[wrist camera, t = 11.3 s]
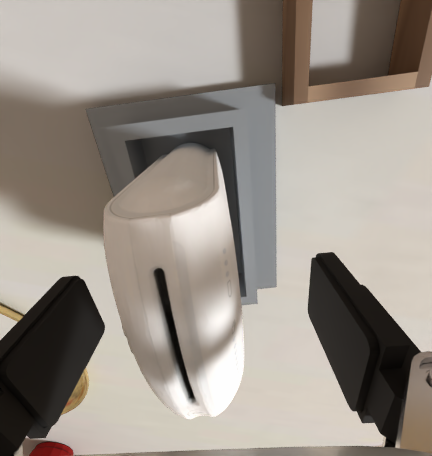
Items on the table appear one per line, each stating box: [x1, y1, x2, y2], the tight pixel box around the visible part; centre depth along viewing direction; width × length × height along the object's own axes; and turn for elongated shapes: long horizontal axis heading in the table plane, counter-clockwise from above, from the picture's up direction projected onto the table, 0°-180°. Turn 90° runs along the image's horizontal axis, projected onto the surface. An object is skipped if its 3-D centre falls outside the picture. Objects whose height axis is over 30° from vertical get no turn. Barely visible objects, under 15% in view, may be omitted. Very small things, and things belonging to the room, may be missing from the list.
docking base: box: [86, 83, 276, 305], centre depth 17 cm, size 12×16×4 cm
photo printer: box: [103, 143, 244, 419], centre depth 12 cm, size 10×4×12 cm, turn 6°
